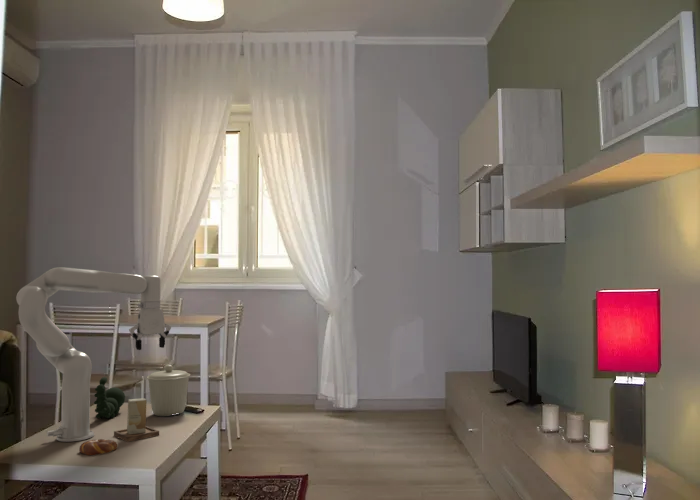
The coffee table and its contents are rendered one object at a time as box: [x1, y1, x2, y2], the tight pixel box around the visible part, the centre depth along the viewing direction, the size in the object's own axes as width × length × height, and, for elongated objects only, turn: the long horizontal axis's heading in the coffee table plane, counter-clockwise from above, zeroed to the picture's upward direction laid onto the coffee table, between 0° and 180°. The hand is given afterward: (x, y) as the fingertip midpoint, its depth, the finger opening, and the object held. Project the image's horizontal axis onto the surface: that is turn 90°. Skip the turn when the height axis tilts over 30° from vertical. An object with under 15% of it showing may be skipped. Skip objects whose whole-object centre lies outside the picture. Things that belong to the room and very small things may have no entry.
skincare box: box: [126, 397, 147, 435], centre depth 217 cm, size 6×4×12 cm
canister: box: [146, 364, 191, 417], centre depth 251 cm, size 18×18×21 cm
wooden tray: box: [113, 425, 160, 443], centre depth 216 cm, size 12×12×2 cm
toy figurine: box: [93, 376, 126, 419], centre depth 249 cm, size 9×19×25 cm
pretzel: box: [79, 438, 119, 456], centre depth 198 cm, size 12×11×4 cm
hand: (150, 348), depth 234 cm, fingers open, 9 cm apart
